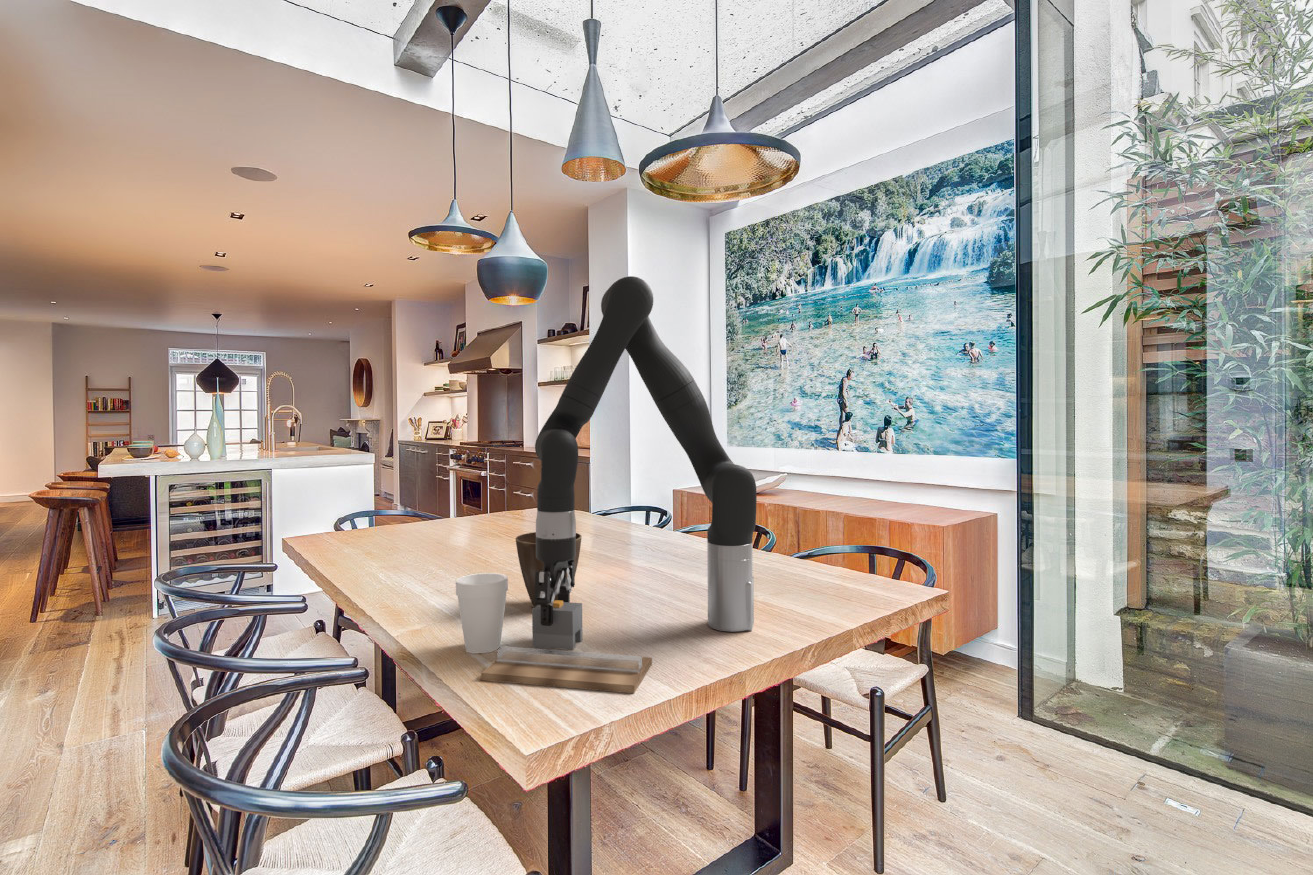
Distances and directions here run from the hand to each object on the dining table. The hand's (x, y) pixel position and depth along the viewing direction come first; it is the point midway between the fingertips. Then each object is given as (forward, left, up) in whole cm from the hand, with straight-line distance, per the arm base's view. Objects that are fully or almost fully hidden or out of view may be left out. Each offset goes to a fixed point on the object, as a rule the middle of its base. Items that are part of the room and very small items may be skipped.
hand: (555, 618), depth 123 cm
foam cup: (+13, +5, -5) cm, 14 cm away
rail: (-7, +13, -3) cm, 15 cm away
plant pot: (+11, -23, -5) cm, 26 cm away
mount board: (-7, +13, -5) cm, 16 cm away
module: (0, 0, -5) cm, 5 cm away
